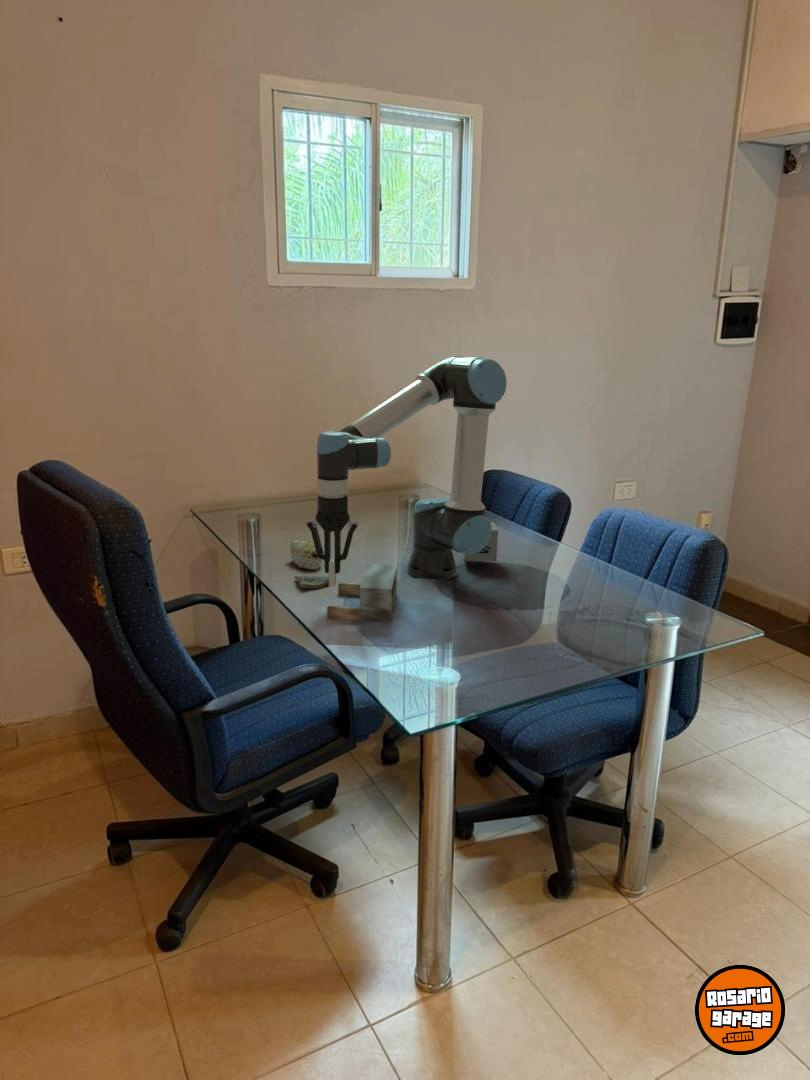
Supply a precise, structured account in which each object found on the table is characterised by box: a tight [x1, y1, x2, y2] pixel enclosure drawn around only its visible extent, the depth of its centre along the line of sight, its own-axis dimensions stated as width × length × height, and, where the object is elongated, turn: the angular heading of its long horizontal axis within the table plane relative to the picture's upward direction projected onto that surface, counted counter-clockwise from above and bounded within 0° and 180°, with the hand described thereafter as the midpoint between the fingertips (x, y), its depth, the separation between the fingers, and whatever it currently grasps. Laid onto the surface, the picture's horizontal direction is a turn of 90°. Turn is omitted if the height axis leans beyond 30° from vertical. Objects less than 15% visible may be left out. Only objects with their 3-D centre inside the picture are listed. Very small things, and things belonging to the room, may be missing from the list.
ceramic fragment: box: [294, 575, 329, 589], centre depth 209 cm, size 11×3×10 cm
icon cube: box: [462, 521, 499, 562], centre depth 238 cm, size 10×10×10 cm
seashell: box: [290, 540, 323, 570], centre depth 224 cm, size 10×10×10 cm
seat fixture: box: [326, 563, 398, 623], centre depth 192 cm, size 16×19×8 cm
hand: (332, 584), depth 192 cm, fingers closed
